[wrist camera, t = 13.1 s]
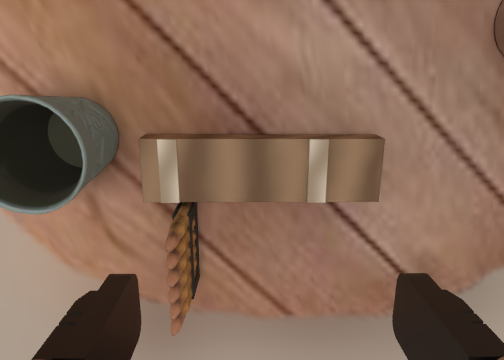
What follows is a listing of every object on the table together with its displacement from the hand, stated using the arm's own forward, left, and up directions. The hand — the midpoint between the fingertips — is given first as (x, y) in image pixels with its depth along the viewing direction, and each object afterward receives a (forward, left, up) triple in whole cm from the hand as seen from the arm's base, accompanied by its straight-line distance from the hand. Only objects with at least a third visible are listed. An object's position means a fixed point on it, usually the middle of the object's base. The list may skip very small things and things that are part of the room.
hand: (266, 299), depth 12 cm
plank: (-1, +4, -32) cm, 32 cm away
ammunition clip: (+8, +13, -32) cm, 36 cm away
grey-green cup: (+19, 0, -32) cm, 37 cm away
